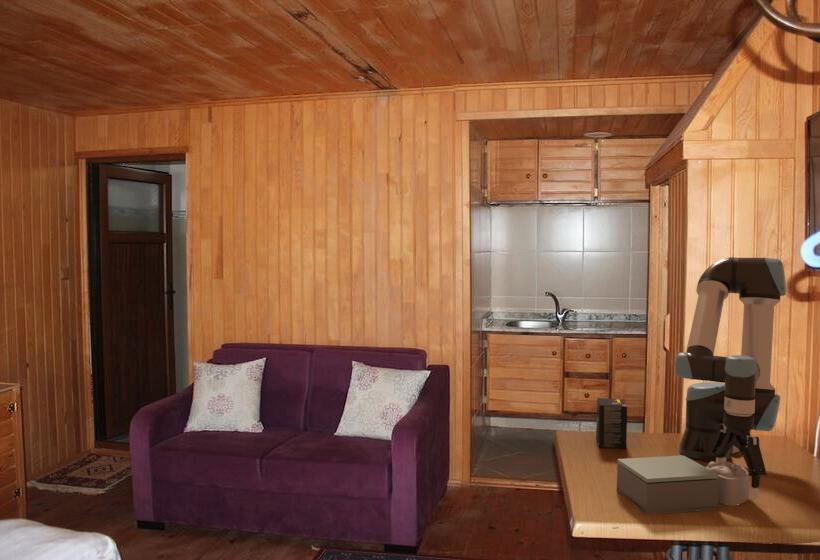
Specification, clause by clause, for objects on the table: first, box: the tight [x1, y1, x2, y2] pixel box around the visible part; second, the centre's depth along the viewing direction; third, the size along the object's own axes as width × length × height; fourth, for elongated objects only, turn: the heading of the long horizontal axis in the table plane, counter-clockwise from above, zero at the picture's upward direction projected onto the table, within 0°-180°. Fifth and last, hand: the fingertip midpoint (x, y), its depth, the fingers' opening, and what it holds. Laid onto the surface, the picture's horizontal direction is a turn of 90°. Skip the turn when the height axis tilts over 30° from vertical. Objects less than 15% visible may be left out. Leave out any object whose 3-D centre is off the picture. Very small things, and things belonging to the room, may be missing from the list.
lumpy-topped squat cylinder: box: [705, 460, 749, 506], centre depth 184 cm, size 10×13×9 cm
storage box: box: [616, 463, 719, 516], centre depth 180 cm, size 20×16×8 cm
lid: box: [616, 454, 719, 483], centre depth 180 cm, size 20×16×1 cm
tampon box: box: [595, 397, 628, 450], centre depth 229 cm, size 11×9×15 cm
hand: (735, 489), depth 184 cm, fingers open, 13 cm apart
